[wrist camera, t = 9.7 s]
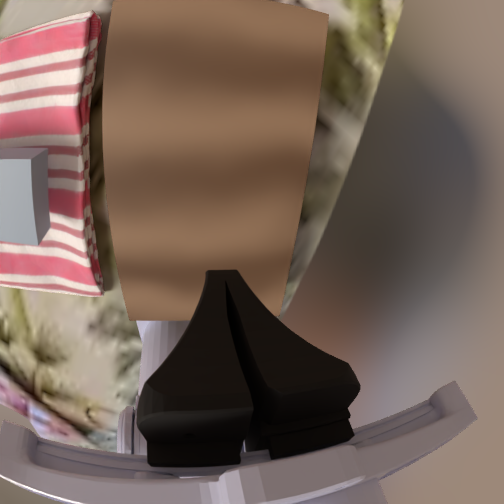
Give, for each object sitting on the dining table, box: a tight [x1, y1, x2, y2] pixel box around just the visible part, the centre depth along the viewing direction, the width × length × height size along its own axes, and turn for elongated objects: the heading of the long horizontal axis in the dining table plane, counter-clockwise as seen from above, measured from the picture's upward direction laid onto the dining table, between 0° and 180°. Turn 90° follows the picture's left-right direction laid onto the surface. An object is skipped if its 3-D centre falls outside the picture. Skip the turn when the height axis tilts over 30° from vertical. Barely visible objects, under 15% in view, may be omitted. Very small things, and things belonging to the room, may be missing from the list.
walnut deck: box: [102, 0, 329, 321], centre depth 17 cm, size 22×12×4 cm, turn 174°
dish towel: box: [0, 10, 104, 297], centre depth 14 cm, size 17×23×4 cm
